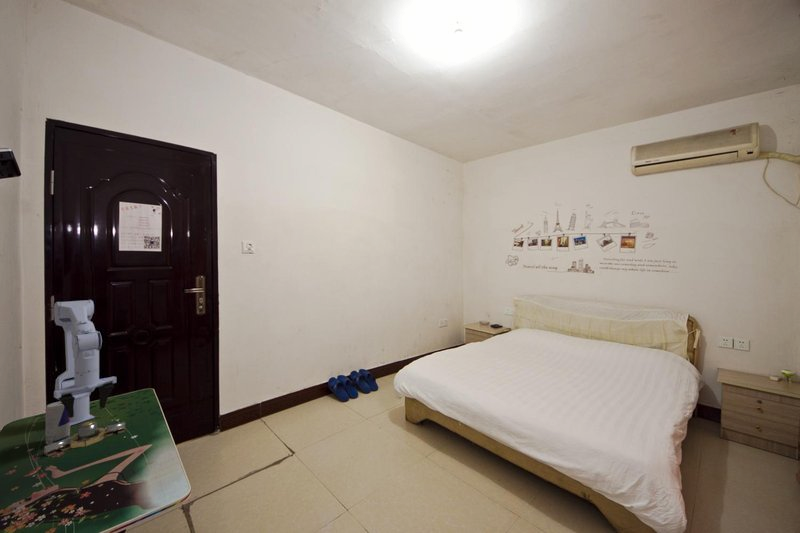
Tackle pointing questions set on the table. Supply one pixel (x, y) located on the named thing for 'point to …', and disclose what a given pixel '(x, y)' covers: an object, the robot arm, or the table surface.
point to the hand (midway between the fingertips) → (87, 411)
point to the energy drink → (57, 423)
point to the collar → (87, 442)
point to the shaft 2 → (115, 428)
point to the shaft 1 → (57, 447)
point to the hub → (87, 430)
